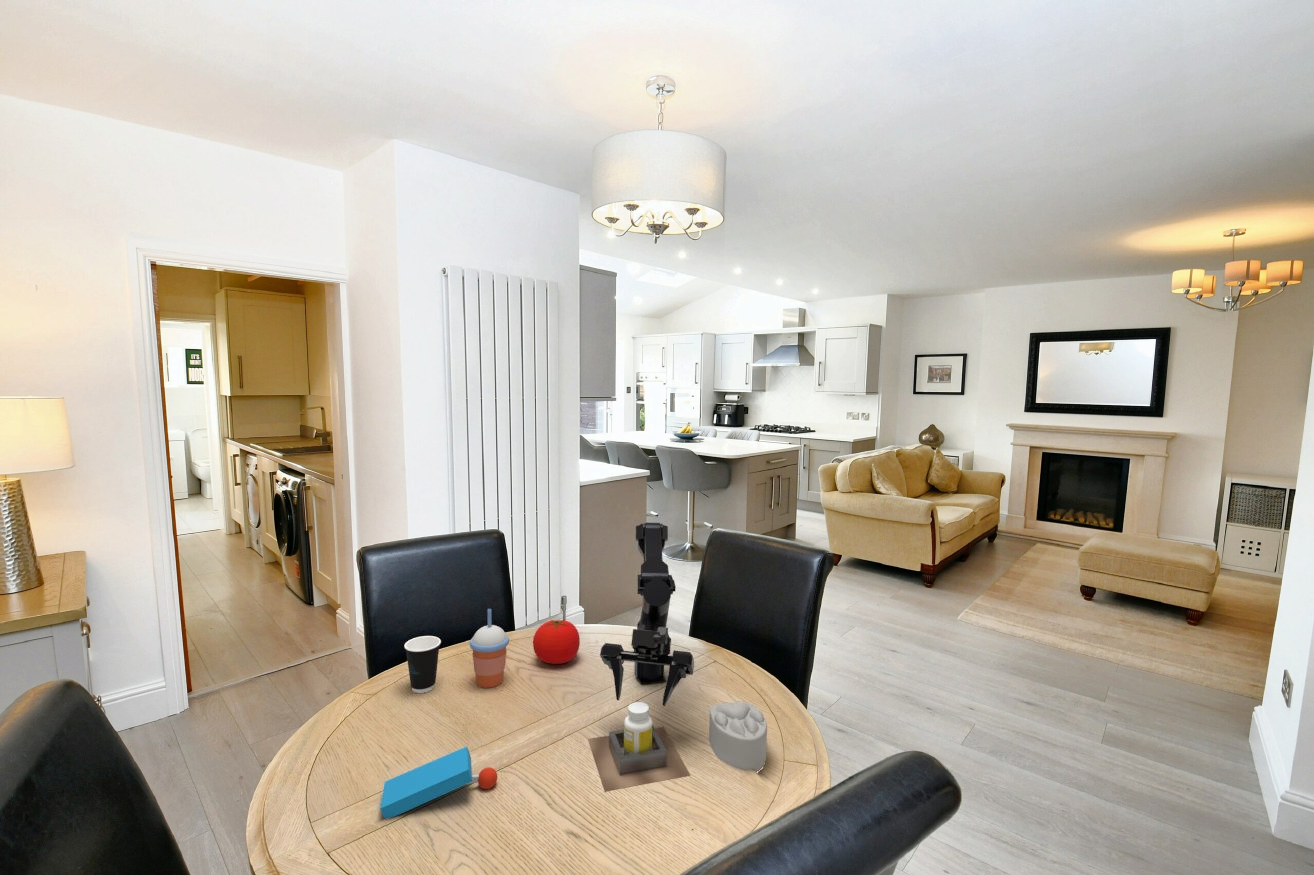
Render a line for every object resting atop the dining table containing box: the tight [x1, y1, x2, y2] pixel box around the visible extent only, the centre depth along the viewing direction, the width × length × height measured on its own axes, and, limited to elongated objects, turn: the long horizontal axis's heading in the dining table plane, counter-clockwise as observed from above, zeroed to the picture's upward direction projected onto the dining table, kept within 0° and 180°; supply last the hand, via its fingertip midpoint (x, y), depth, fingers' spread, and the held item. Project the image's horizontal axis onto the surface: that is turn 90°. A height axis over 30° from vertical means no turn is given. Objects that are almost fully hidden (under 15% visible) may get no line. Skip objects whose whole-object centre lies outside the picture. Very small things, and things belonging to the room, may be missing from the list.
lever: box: [380, 745, 498, 819], centre depth 103 cm, size 7×7×18 cm
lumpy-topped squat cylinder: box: [708, 700, 768, 773], centre depth 116 cm, size 10×13×9 cm
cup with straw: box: [469, 608, 510, 689], centre depth 142 cm, size 9×9×18 cm
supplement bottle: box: [623, 701, 653, 755], centre depth 113 cm, size 5×5×10 cm
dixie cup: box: [403, 635, 442, 694], centre depth 138 cm, size 8×8×11 cm
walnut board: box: [587, 726, 692, 793], centre depth 113 cm, size 16×16×1 cm
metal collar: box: [608, 724, 667, 775], centre depth 113 cm, size 9×9×3 cm
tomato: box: [532, 619, 581, 665], centre depth 154 cm, size 12×12×10 cm
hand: (640, 702), depth 115 cm, fingers open, 9 cm apart
